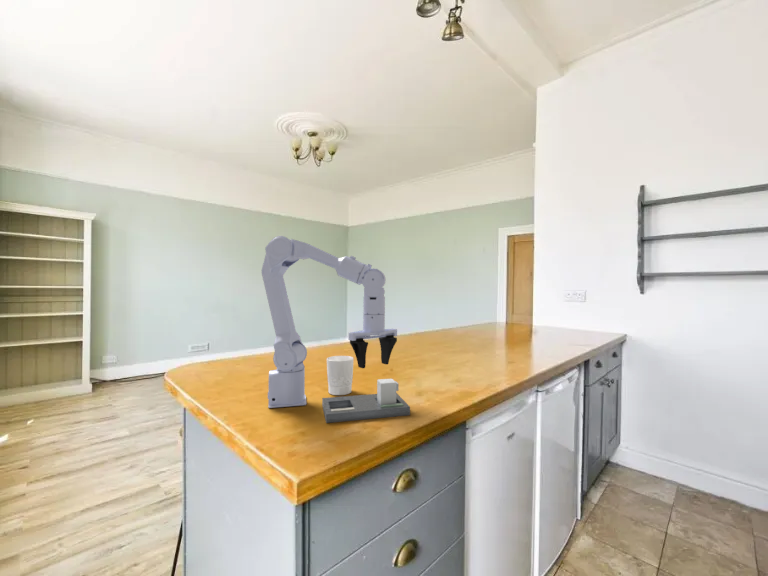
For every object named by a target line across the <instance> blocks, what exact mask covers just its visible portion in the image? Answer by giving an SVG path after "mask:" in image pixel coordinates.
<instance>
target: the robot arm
mask: <svg viewBox="0 0 768 576" xmlns="http://www.w3.org/2000/svg"><path fill="white" fill-rule="evenodd" d="M263 259H264V260H263V263H262V267H261V276H262V280H263V285H264V289H265V294H266V298H267V301H268V302H267V303H268V307H269V311H270V315H271V319H272V323H273V329H274V332H275V338H274V342H273V350H274V351H273V352H274V353H273V356H272V357H273V358H272V359H273V364H274V366H275V367H276V369H273V370H269V372H268V392H267V399H268V405H267V406H268V408H269V409H272V408H284V407H286V408H287V407H299V406H306V405H307V395H306V394H305V391H306V390H305V385H306V384H305V382H306V381H305V379H306V377H305V372H306V371H305V364H304V361H305V360H306V358H307V356H308V355H307V354H308V349H307V348H306V346H305V344H304V343H303V342H302V339H301V336H300V334H299V333H298V332H297V330H296V326H295V322H294V319H293V314H292V309H291V304H290V300H289V296H288V291H287V287H286V284H285V278H284V275H285V274H286V272H287V270H289V268H290V267H291V266H293V265H295V263H297V262H298V261H300V260H308V259H310V260H313V261H316V262H318V263H320V264H323V265H325V266H327V267H329V268H332V269H334V270H335V272H336V275H337V276H338V277H340V278H343V279H345V280H347V281H349V282H351V283H354V284H356V285H362V286H363V296H362V298H363V300H362V307H363V310H362V311H363V312H362V313H363V314H362V319H363V320H362V330H359V331H358V330H356V331H349V332H348V340H349V344H350V346H351V348H352V349H353V352H354V355H355V358H356V361H357V366H358V368H360V369H365V368H366V363H367V362H366V361H367V350H368V345H369V342H368V341H365V340H369V339H377V338H378V341H379V346H380V354H381V355H380V360H381V364H384V365H389V362H390V357H391V355H392V353H393V350H394V347H395V345H396V343H397V341H398V338H397V337H398V329H397V328H386V327H385V326H386V320H385V319H386V318H385V316H386V315H385V313H386V307H385V306H386V302H385V301H386V296H385V293H386V291H385V287H384V286H385V285H386V282H387V281H386V275H385V274H384V273H383V272H382V271H381V270H380V269H378V268H375V267H374V268H372V266H373V265H372V264H370V263H367V264H366V263H364V262H361V261H359V260H357V258H356V257H355V256H353V255H350V256H348V255H345V256H343V257H338V256H336V255H334V254H331V253H329V252H326V251H325V250H323V249H321V248H319V247H316V246H314V245H312V244H310V243H307V242H305V241H301V240H296V239H295V238H294V239H293V238H290V239H289V238H288V237H286V236H284V235H277V236H275V237H273V238H272V239H271V240H270V241H269V242H268V244H267V245H266V246H265V255H264V258H263Z"/></svg>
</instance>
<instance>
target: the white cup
mask: <svg viewBox="0 0 768 576" xmlns="http://www.w3.org/2000/svg"><path fill="white" fill-rule="evenodd" d="M326 373H327V374H326V375H327V385H328V393H329V394H330V395H333V396H345V395H346V396H347V395H349V394H350V393H352V390H353V388H352V385H353V376H354V374H353V373H354V357H353V356H349V355H334V356H333V355H332V356H329V357H327V358H326Z"/></svg>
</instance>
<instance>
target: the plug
mask: <svg viewBox="0 0 768 576" xmlns="http://www.w3.org/2000/svg"><path fill="white" fill-rule="evenodd" d="M376 382H377V383H376V387H377V388H376V389H377V390H376V391H377V393H376V394H377V402H378V403H379V405H383V404H395V403H396V393H397V392H398V391H399V390H400V389H399V382H397V381H396V380H394V379H393V378H381V379H379V378H378V379H377V381H376Z"/></svg>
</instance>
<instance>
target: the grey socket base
mask: <svg viewBox="0 0 768 576" xmlns="http://www.w3.org/2000/svg"><path fill="white" fill-rule="evenodd" d="M321 406H322V410H323V414H324V419H325V423H326V424H328V423H329V424H330V423H339V422H340V423H342V422H350V421H363V420H372V419H381V418H382V419H384V418H394V417H404V416H411V407H410V405H409V404H408V403H407V402H406V401H405V400H404V399H403V398H402V397H401V396H400V395H399V394H398V393H397V392H396V403H395V404H383V405H379V403H378V402H377V393H370V394H360V395H359V394H357V395H346V396H345V395H342V396H335V397H333V396H331V397H322V404H321Z"/></svg>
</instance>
